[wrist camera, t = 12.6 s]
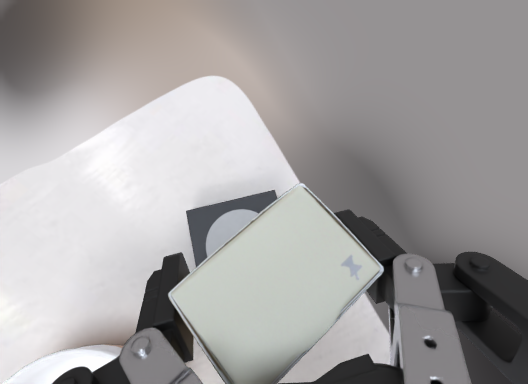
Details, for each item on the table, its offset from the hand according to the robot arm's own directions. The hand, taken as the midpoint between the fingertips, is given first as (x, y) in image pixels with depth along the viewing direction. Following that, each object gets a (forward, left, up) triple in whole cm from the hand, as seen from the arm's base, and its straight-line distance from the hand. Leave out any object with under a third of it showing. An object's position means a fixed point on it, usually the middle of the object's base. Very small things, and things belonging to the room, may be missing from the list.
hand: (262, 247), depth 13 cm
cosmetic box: (0, +2, -9) cm, 9 cm away
